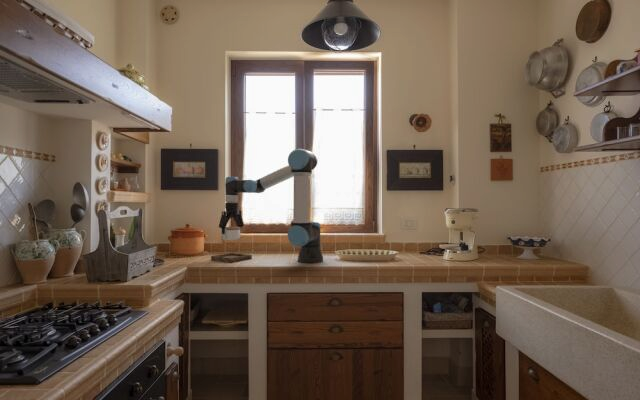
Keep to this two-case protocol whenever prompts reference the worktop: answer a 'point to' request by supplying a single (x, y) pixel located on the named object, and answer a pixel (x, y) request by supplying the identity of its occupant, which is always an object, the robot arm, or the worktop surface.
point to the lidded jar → (232, 233)
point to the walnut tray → (231, 257)
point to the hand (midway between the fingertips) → (231, 238)
